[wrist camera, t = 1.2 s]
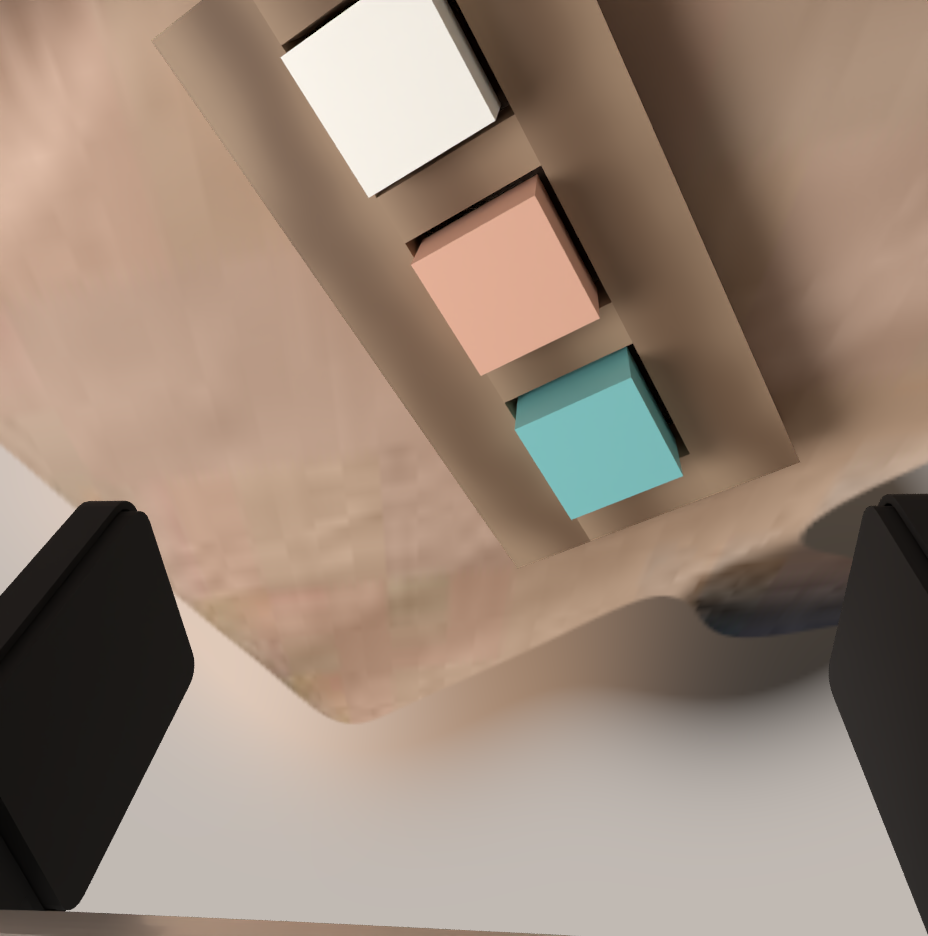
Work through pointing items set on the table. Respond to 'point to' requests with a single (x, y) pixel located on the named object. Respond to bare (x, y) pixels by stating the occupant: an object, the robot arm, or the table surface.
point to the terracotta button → (507, 277)
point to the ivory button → (393, 86)
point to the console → (465, 183)
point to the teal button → (598, 434)
